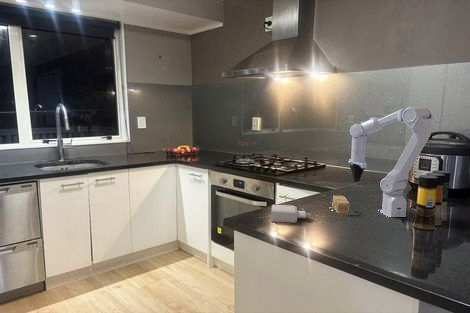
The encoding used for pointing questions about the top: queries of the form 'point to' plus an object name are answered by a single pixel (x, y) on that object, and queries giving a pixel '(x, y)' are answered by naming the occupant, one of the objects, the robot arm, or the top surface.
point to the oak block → (340, 204)
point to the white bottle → (286, 213)
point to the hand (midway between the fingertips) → (356, 181)
